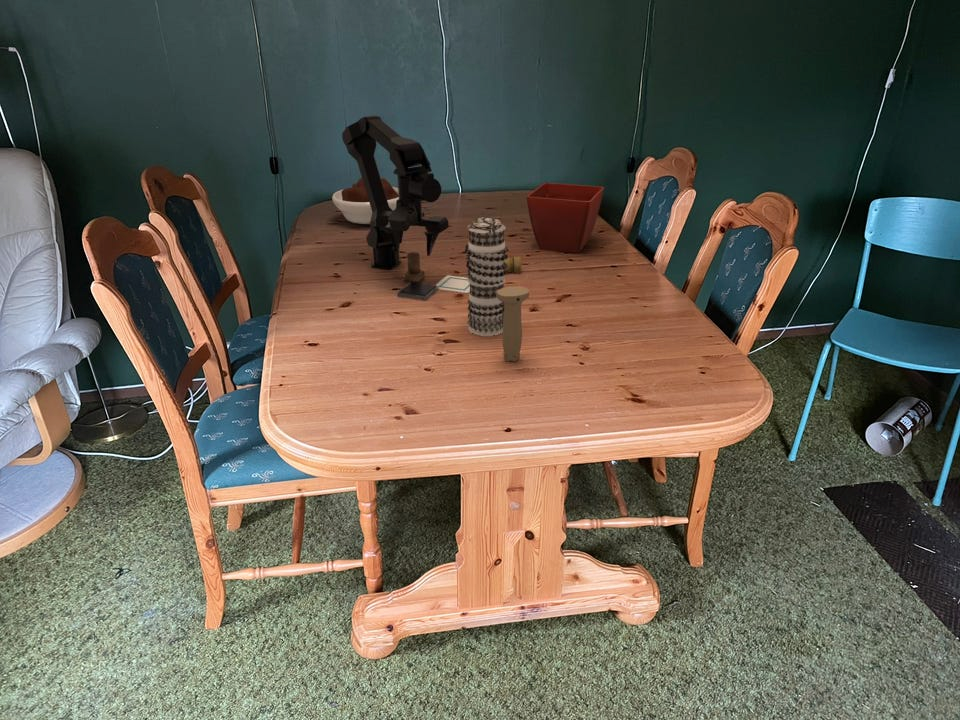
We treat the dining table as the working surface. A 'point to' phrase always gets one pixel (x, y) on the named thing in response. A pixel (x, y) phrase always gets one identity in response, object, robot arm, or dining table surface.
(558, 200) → the plant pot
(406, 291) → the ink pad
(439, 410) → the dining table surface
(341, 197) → the bowl of chocolate pudding
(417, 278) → the stamp
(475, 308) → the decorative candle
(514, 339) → the handle
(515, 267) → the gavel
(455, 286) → the print card
